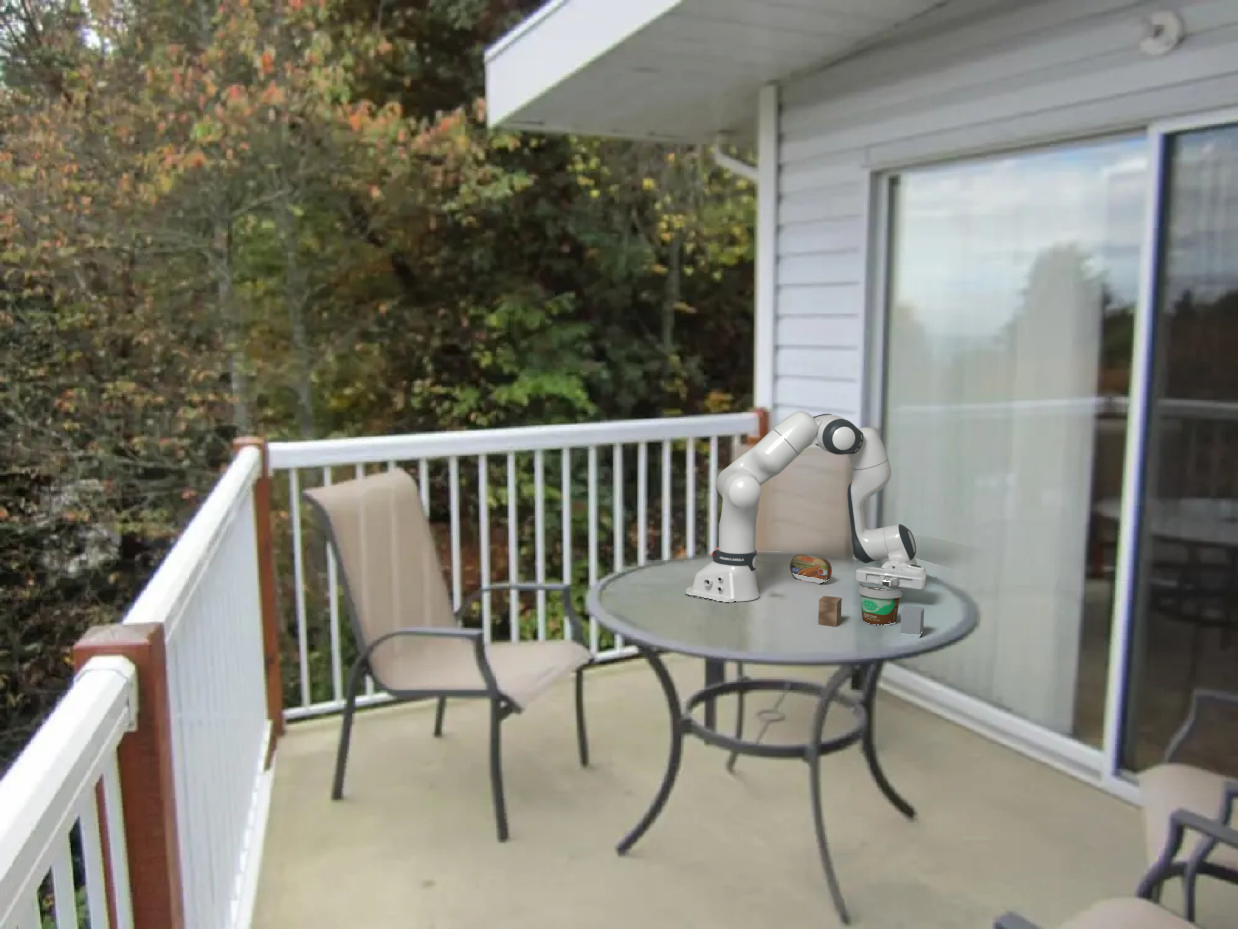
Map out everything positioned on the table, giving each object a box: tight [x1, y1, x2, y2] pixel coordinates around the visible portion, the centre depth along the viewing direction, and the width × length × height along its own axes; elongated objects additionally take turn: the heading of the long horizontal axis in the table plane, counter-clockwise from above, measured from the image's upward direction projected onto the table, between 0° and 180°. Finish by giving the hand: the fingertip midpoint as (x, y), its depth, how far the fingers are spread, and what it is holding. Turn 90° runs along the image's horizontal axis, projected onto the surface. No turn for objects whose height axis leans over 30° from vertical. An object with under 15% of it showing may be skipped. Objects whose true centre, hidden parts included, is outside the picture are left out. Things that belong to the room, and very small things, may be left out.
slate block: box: [899, 605, 925, 635], centre depth 260 cm, size 5×5×7 cm
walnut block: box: [817, 595, 843, 628], centre depth 270 cm, size 5×5×7 cm
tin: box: [789, 554, 833, 581], centre depth 317 cm, size 15×3×8 cm, turn 43°
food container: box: [857, 582, 903, 626], centre depth 270 cm, size 12×6×10 cm, turn 53°
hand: (885, 583), depth 283 cm, fingers closed
